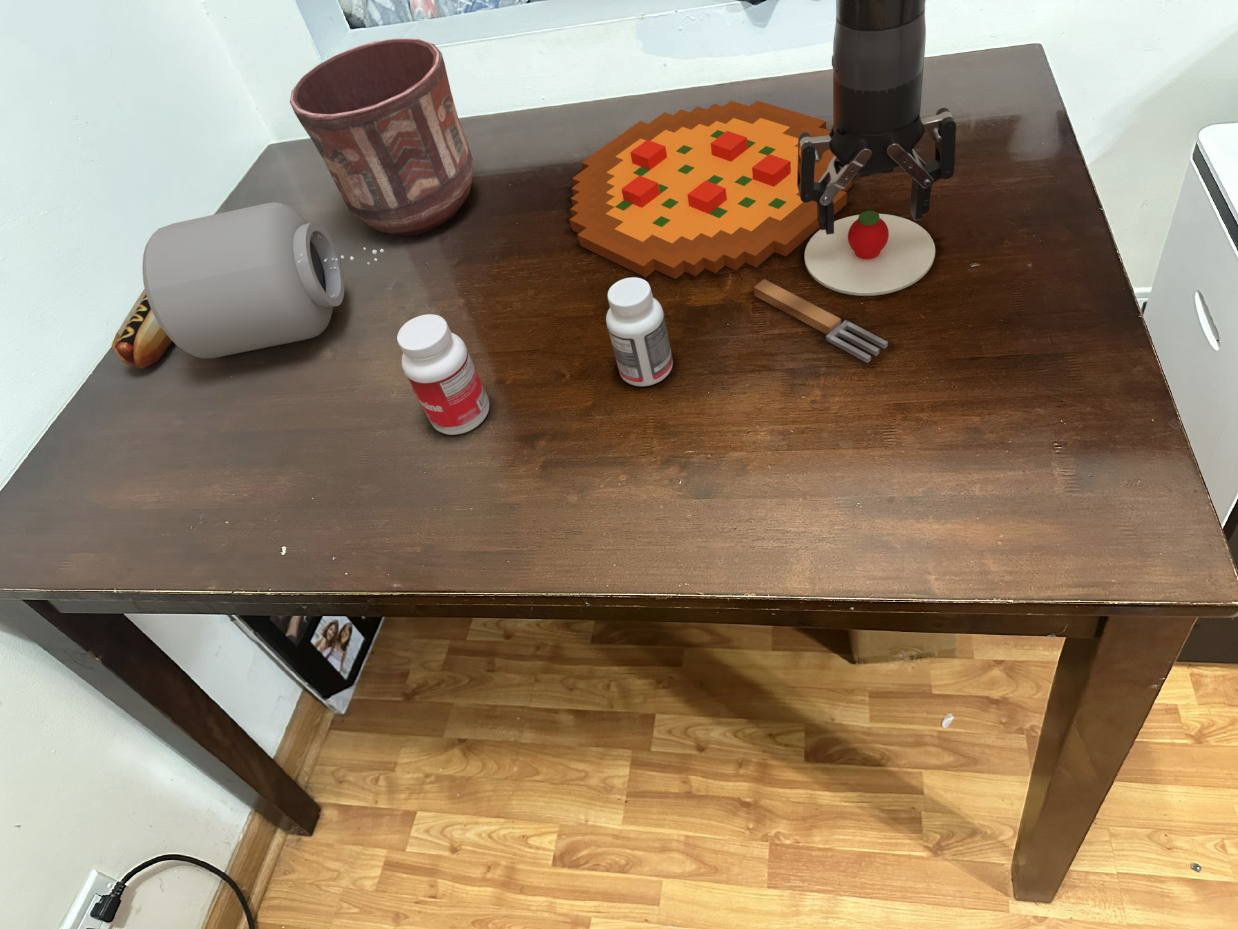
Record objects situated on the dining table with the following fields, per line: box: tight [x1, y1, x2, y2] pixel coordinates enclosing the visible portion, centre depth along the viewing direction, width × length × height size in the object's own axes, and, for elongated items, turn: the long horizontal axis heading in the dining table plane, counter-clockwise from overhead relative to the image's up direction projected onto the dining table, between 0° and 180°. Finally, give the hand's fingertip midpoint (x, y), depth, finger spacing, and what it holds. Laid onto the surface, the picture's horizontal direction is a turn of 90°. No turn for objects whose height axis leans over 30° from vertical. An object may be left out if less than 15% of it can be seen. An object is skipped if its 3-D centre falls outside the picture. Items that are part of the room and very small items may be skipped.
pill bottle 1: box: [396, 313, 490, 436], centre depth 82 cm, size 6×6×11 cm
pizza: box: [568, 100, 853, 280], centre depth 101 cm, size 32×32×3 cm
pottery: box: [289, 37, 474, 237], centre depth 104 cm, size 18×18×18 cm
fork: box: [753, 278, 889, 364], centre depth 84 cm, size 15×3×1 cm, turn 41°
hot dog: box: [111, 288, 173, 369], centre depth 102 cm, size 5×13×5 cm, turn 176°
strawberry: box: [848, 210, 889, 259], centre depth 88 cm, size 4×4×4 cm
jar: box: [141, 201, 385, 360], centre depth 94 cm, size 19×15×25 cm
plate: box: [804, 213, 936, 297], centre depth 89 cm, size 13×13×1 cm
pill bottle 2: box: [605, 276, 674, 387], centre depth 81 cm, size 5×5×10 cm
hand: (872, 222), depth 87 cm, fingers open, 8 cm apart
